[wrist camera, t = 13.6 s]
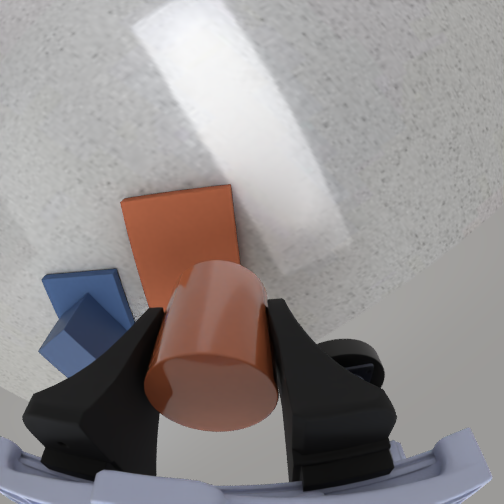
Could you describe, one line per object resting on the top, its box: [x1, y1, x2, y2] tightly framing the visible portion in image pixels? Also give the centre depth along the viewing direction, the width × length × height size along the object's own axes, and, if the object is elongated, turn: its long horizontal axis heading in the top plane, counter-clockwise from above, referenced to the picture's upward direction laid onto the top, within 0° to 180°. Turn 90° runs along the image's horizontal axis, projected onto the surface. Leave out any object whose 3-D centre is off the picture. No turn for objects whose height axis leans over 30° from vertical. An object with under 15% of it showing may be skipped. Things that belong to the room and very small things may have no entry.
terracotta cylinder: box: [144, 260, 279, 432], centre depth 12 cm, size 4×4×6 cm
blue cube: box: [38, 293, 127, 378], centre depth 20 cm, size 4×4×4 cm
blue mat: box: [42, 269, 135, 331], centre depth 23 cm, size 9×7×1 cm
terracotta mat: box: [120, 184, 240, 313], centre depth 20 cm, size 9×7×1 cm
